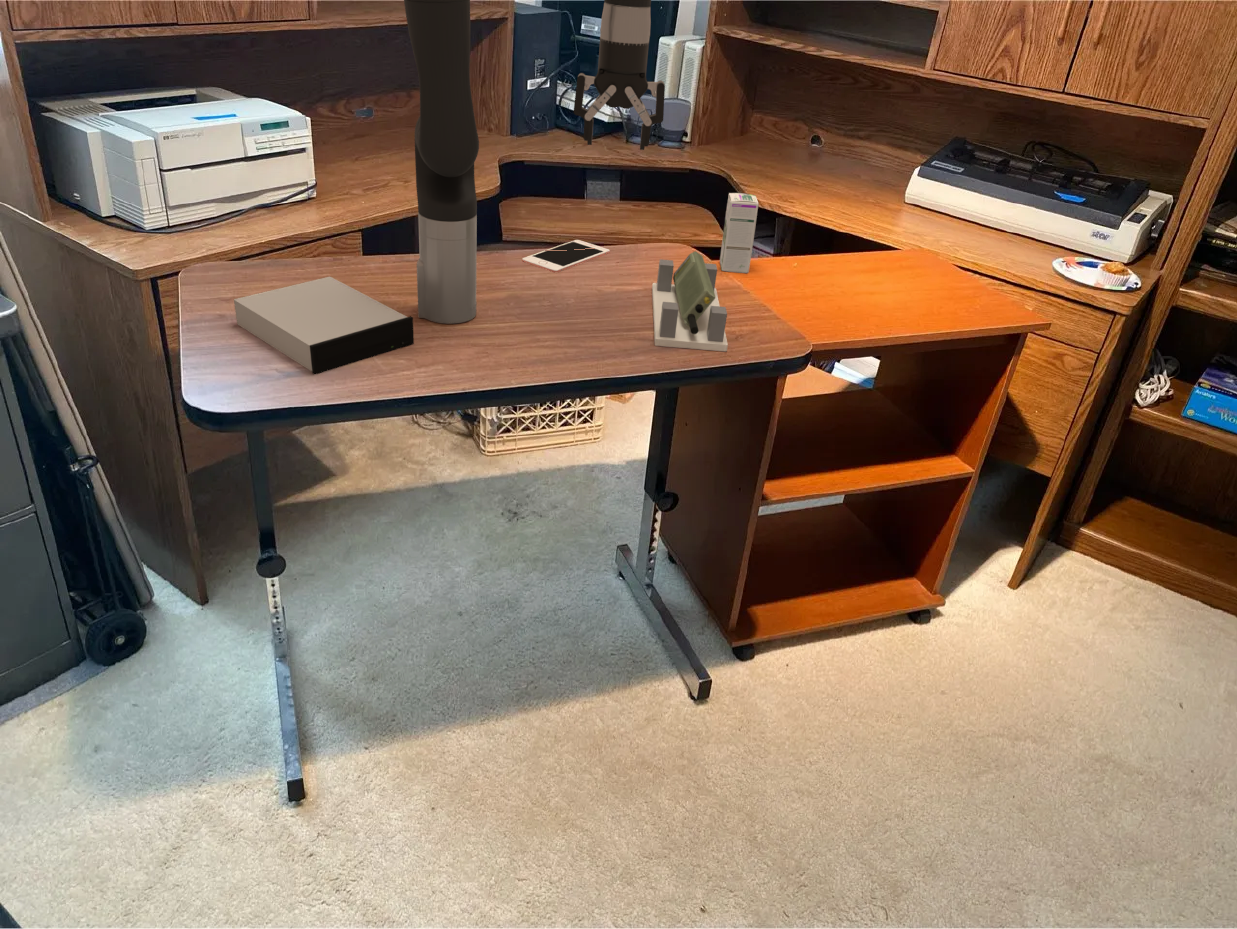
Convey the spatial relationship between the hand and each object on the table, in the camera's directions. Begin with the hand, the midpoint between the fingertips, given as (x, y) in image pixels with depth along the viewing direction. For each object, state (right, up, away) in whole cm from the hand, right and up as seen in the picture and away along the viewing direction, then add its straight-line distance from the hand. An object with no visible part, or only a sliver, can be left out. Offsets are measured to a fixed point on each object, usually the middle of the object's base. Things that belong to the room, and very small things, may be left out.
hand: (615, 146), depth 150 cm
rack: (+13, -26, +14) cm, 32 cm away
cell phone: (-10, -10, +37) cm, 40 cm away
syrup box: (+24, -11, +40) cm, 48 cm away
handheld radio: (+12, -24, +13) cm, 30 cm away
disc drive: (-46, -32, -4) cm, 56 cm away
